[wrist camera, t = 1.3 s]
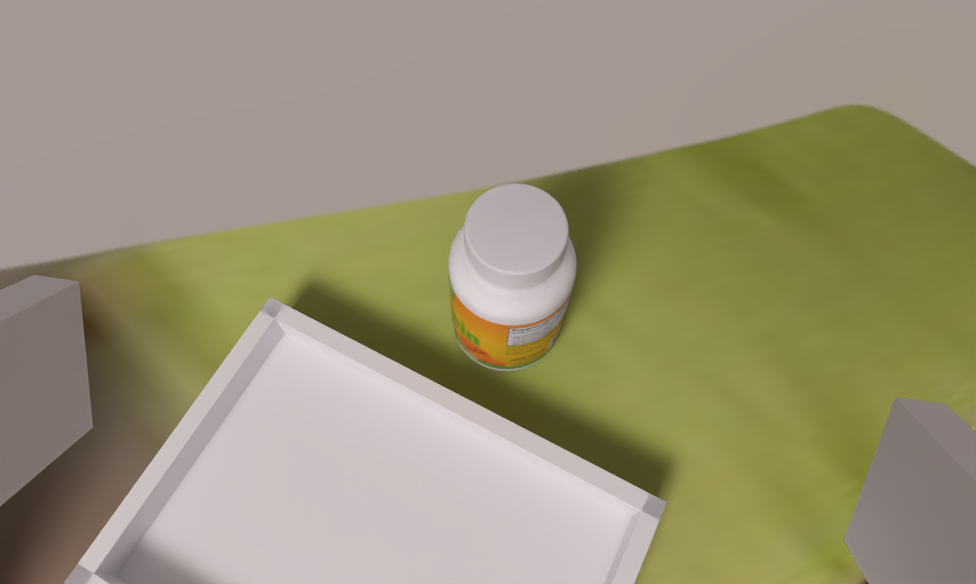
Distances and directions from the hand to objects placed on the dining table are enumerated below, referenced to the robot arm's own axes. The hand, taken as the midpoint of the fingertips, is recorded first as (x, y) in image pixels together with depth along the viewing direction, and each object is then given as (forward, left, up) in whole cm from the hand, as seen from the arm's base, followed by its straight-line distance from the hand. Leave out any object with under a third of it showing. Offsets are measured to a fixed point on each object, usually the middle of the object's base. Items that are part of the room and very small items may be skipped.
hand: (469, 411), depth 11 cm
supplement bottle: (+3, -10, -22) cm, 24 cm away
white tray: (+3, +2, -21) cm, 22 cm away
